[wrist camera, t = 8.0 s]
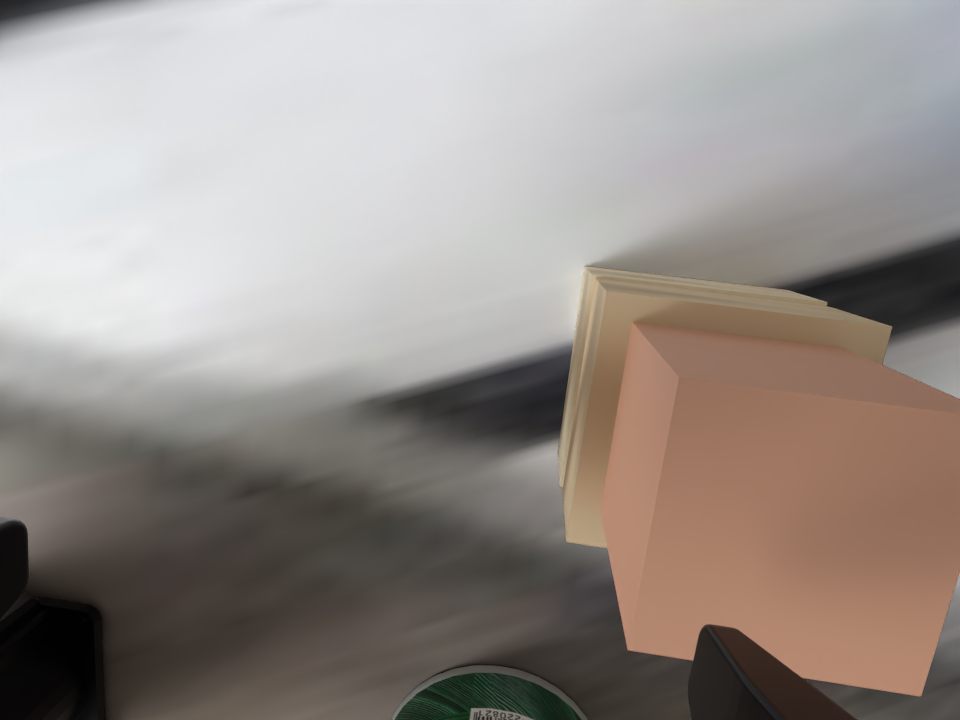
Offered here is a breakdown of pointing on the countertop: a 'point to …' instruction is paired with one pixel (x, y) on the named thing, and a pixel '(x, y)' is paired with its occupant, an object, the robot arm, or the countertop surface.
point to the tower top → (679, 309)
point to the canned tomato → (487, 697)
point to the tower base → (650, 279)
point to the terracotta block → (783, 504)
